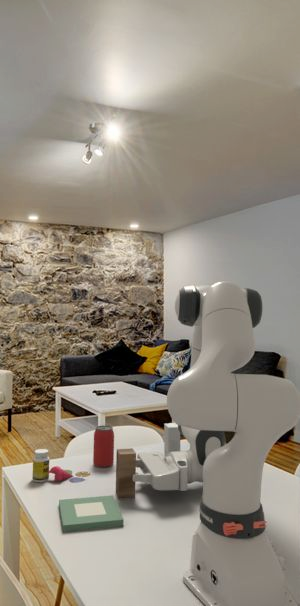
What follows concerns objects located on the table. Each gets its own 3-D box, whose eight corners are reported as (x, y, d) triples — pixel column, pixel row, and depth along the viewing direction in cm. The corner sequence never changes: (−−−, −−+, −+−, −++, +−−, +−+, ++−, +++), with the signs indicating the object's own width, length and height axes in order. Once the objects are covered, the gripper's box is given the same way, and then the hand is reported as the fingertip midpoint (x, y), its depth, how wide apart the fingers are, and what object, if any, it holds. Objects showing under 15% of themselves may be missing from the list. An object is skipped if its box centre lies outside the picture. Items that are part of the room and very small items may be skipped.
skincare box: (180, 463, 151) (181, 427, 151) (167, 464, 150) (168, 427, 150) (175, 457, 157) (176, 422, 157) (163, 458, 156) (163, 422, 156)
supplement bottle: (44, 483, 132) (45, 454, 132) (29, 481, 133) (30, 452, 133) (51, 477, 137) (52, 449, 137) (36, 475, 138) (37, 447, 138)
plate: (123, 525, 108) (123, 519, 108) (63, 532, 104) (63, 525, 104) (112, 501, 121) (112, 495, 121) (58, 505, 118) (59, 499, 118)
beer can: (91, 462, 151) (92, 425, 151) (111, 460, 153) (111, 424, 153) (95, 468, 145) (96, 430, 145) (115, 467, 147) (116, 429, 147)
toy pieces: (73, 488, 130) (74, 472, 130) (43, 480, 135) (43, 465, 135) (97, 474, 141) (98, 460, 141) (68, 468, 146) (68, 454, 146)
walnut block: (135, 497, 124) (136, 453, 124) (118, 499, 123) (119, 454, 123) (131, 491, 128) (132, 448, 128) (115, 492, 127) (116, 449, 127)
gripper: (166, 445, 139) (121, 448, 136) (188, 469, 119) (137, 472, 116) (165, 466, 139) (120, 469, 136) (188, 493, 119) (136, 497, 116)
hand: (128, 471), depth 126 cm, fingers open, 8 cm apart
